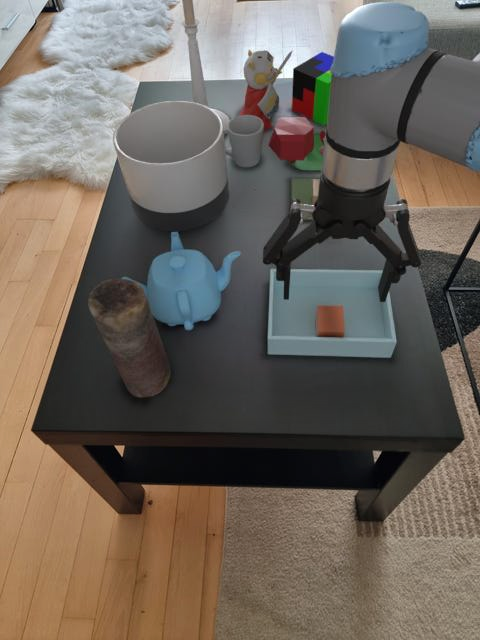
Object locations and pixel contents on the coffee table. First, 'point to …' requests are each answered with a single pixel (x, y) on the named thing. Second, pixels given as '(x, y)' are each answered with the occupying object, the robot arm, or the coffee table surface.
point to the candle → (131, 335)
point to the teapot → (185, 285)
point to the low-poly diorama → (298, 143)
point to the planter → (173, 164)
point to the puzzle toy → (313, 87)
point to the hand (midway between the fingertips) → (333, 293)
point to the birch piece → (315, 190)
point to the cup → (245, 139)
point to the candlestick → (197, 60)
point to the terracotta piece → (329, 321)
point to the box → (338, 290)
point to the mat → (302, 191)
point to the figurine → (261, 86)
